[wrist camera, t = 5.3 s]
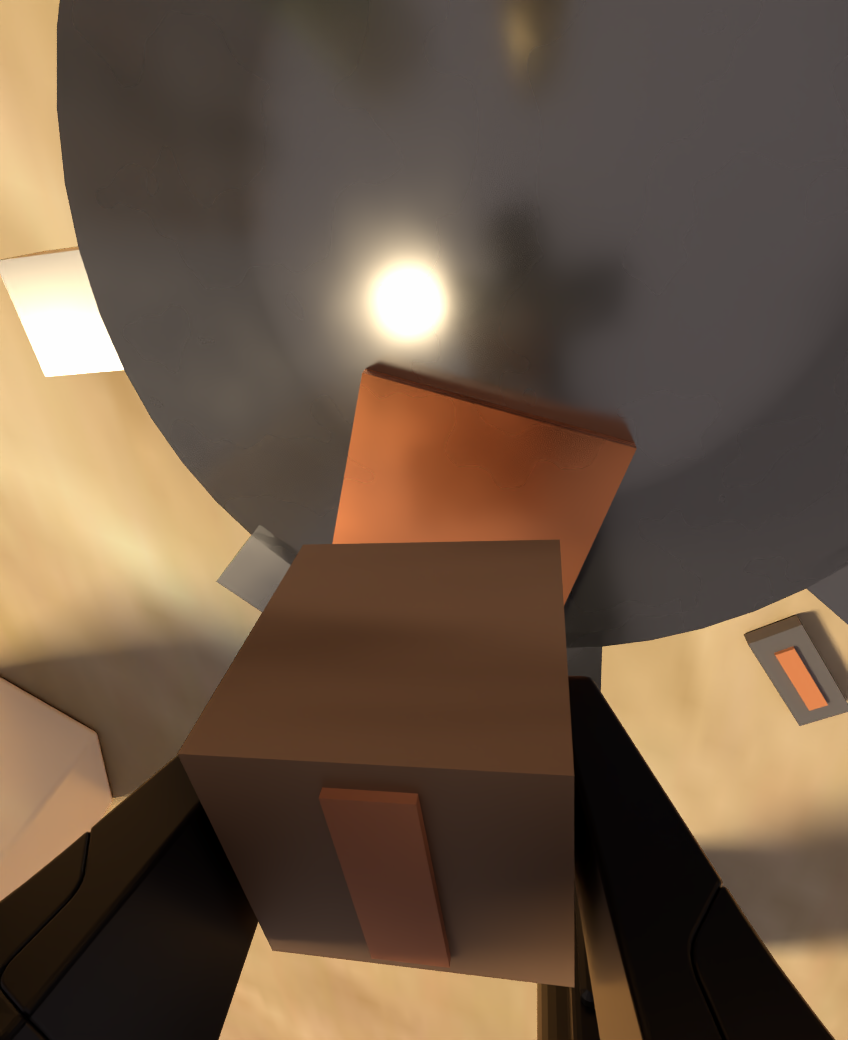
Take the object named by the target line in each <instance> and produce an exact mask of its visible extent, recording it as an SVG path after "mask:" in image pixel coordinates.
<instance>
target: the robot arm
mask: <svg viewBox="0 0 848 1040" xmlns="http://www.w3.org/2000/svg"><path fill="white" fill-rule="evenodd" d="M568 682H569V699H570V715H571V731H572V748H573V764H574V987H566V986H558V985H550V984H541V983H537V1040H835V1039H834V1037H833V1036H832V1035H831V1034H830V1032H829V1031H828V1030H827V1028H826V1027H825V1026H824V1025H823V1023H822V1022H821V1021H820V1020H819V1018H818V1017H817V1016H816V1014H815V1013H814V1012H813V1010H812V1009H811V1008H810V1006H809V1005H808V1004H807V1002H806V1001H805V1000H804V998H803V997H802V996H801V994H800V993H799V992H798V990H797V989H796V988H795V986H794V985H793V984H792V982H791V981H790V980H789V978H788V977H787V976H786V974H785V973H784V972H783V970H782V969H781V968H780V966H779V965H778V964H777V962H776V961H775V959H774V958H773V956H772V955H771V953H770V952H769V950H768V949H767V947H766V946H765V944H764V943H763V941H762V940H761V939H760V937H759V936H758V934H757V933H756V931H755V930H754V928H753V927H752V925H751V924H750V922H749V921H748V919H747V918H746V916H745V915H744V913H743V912H742V910H741V909H740V907H739V906H738V904H737V902H736V901H735V899H734V898H733V896H732V895H731V893H730V892H729V890H728V889H727V888H726V887H724V886H723V887H722V880H721V878H720V877H719V875H718V873H717V872H716V870H715V869H714V867H713V866H712V864H711V863H710V861H709V859H708V858H707V856H706V855H705V853H704V852H703V850H702V849H701V847H700V845H699V844H698V842H697V841H696V839H695V838H694V836H693V835H692V833H691V832H690V830H689V828H688V827H687V825H686V824H685V822H684V821H683V819H682V818H681V816H680V814H679V813H678V811H677V810H676V808H675V807H674V805H673V804H672V802H671V800H670V799H669V797H668V796H667V794H666V793H665V791H664V790H663V788H662V786H661V785H660V783H659V782H658V780H657V779H656V777H655V776H654V774H653V772H652V771H651V769H650V768H649V766H648V765H647V763H646V762H645V760H644V758H643V757H642V755H641V754H640V752H639V751H638V749H637V748H636V746H635V744H634V743H633V741H632V740H631V738H630V737H629V735H628V734H627V732H626V731H625V729H624V727H623V726H622V724H621V723H620V721H619V720H618V718H617V717H616V715H615V713H614V712H613V710H612V709H611V707H610V706H609V704H608V703H607V701H606V699H605V698H604V696H603V695H602V693H601V692H600V690H599V689H598V687H597V685H596V684H595V682H594V681H593V680H592V679H591V678H590V677H588V676H568ZM257 924H258V920H257V917H256V915H255V913H254V911H253V909H252V907H251V905H250V903H249V901H248V899H247V897H246V895H245V893H244V891H243V889H242V887H241V884H240V882H239V880H238V878H237V876H236V874H235V872H234V870H233V868H232V866H231V864H230V862H229V860H228V858H227V856H226V853H225V851H224V849H223V847H222V845H221V843H220V841H219V839H218V837H217V835H216V833H215V831H214V829H213V827H212V825H211V822H210V820H209V818H208V816H207V814H206V812H205V810H204V808H203V806H202V804H201V802H200V800H199V798H198V796H197V794H196V791H195V789H194V787H193V785H192V783H191V781H190V779H189V777H188V775H187V773H186V771H185V769H184V767H183V765H182V763H181V761H180V758H179V756H178V755H177V756H176V757H175V758H173V759H172V760H171V761H170V762H169V763H167V764H166V765H165V766H164V767H163V768H161V769H160V770H159V771H158V772H157V773H156V774H154V775H153V776H152V777H151V778H150V779H148V780H147V781H146V782H145V783H144V784H142V785H141V786H140V787H139V788H138V789H137V790H135V791H134V792H133V793H132V794H131V795H129V796H128V797H127V798H126V799H125V800H123V801H122V802H121V803H120V804H119V805H118V806H116V807H115V808H114V809H113V810H112V811H110V812H109V813H108V814H107V815H106V816H105V817H103V818H102V819H101V820H100V821H99V822H97V823H96V824H95V825H94V826H93V827H92V828H91V831H90V832H85V833H84V834H83V835H82V836H80V837H79V838H78V839H77V840H76V841H75V842H73V843H72V844H71V845H70V846H69V847H67V848H66V849H65V850H64V851H63V852H61V853H60V854H59V855H58V856H57V857H55V858H54V859H53V860H52V861H50V862H49V863H48V864H47V865H45V866H44V867H43V868H42V869H41V870H39V871H38V872H37V873H36V874H34V875H33V876H32V877H31V878H30V879H28V880H27V881H26V882H25V883H23V884H22V885H21V886H19V887H18V888H17V889H15V890H14V891H13V892H11V893H10V894H9V895H8V896H6V897H5V898H4V899H2V900H1V901H0V1040H219V1037H220V1034H221V1031H222V1028H223V1025H224V1022H225V1019H226V1016H227V1013H228V1010H229V1007H230V1004H231V1001H232V998H233V995H234V992H235V989H236V986H237V983H238V980H239V977H240V974H241V971H242V968H243V966H244V963H245V960H246V957H247V954H248V951H249V948H250V945H251V942H252V939H253V936H254V933H255V930H256V927H257Z"/></svg>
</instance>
